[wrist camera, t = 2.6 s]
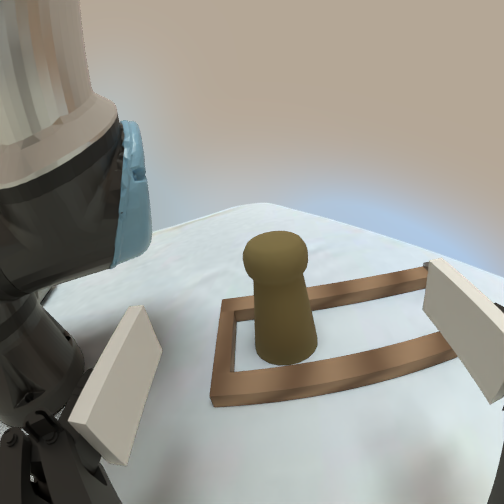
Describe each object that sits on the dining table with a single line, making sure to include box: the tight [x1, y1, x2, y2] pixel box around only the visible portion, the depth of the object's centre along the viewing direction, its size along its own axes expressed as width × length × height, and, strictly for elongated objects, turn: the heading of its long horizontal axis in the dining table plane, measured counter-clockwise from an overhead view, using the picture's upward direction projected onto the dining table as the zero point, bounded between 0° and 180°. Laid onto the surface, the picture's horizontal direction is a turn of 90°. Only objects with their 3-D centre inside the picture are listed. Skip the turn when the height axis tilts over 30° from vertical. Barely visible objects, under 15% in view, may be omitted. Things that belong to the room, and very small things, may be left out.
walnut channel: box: [210, 267, 458, 407], centre depth 27 cm, size 25×14×2 cm, turn 91°
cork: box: [243, 231, 317, 365], centre depth 25 cm, size 6×6×11 cm
